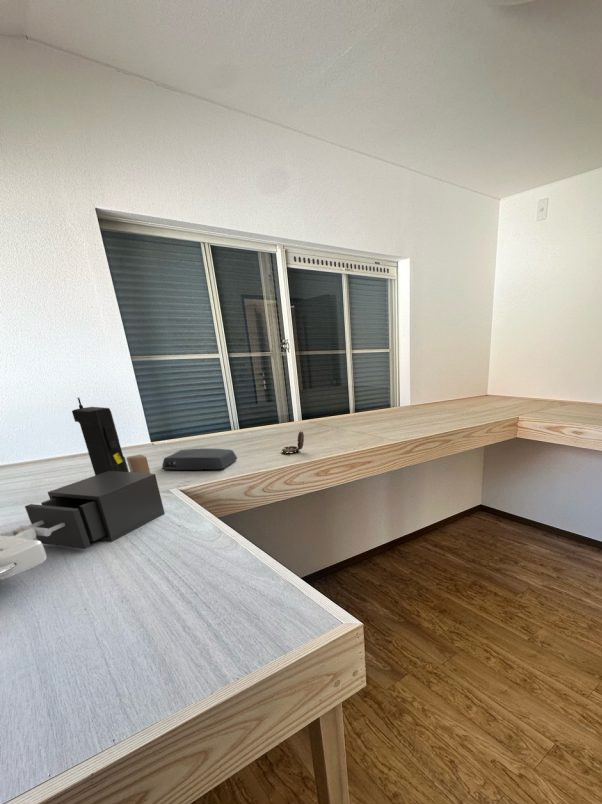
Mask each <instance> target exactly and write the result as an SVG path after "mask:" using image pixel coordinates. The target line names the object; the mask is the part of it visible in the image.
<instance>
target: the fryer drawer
mask: <svg viewBox="0 0 602 804" xmlns="http://www.w3.org/2000/svg"><path fill="white" fill-rule="evenodd" d="M24 508H25V511H26V514H27V516H28V519H29V521H30V524H29V525H20V526H18V528H28V529H34V530H35V533H36V535H37V536H36V540H39V541H41V543H42V545H51V546H59V547H66V548H75V549H80V550H82V549H83V550H86V549H89V548H91V542H96V541H99V540H98V539H99V538H101V537H103V536H105V535H107V532H106V528H105V525H104V522H103V519H102V515H101V512H100V509H99V506H98V503H97V500H90V499H79V498H68V497H55V498H53V499H50V498H49V499H48V500H44V501H42V502H41V504H34V503H29V504H27V505H25V506H24Z"/></svg>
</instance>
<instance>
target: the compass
mask: <svg viewBox="0 0 602 804" xmlns="http://www.w3.org/2000/svg"><path fill="white" fill-rule="evenodd" d="M304 441H305V434H304V432H303V430H298V435H297V446H295V445H290V446H284V447H283V448H282V449H281V452H282V451H283V452H288V453H290V452H295V451H299V450H302V449H303V447H304V444H305V443H304ZM283 452H282V453H283ZM299 452H300V451H299Z"/></svg>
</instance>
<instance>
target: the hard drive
mask: <svg viewBox="0 0 602 804" xmlns="http://www.w3.org/2000/svg"><path fill="white" fill-rule="evenodd" d="M236 459H237V460H238V456H237V454H236V453H235V451H234V450H232V449H229V448H207V447H205V448H188V449H180V450H178V451H176V452H174V453H172V454H170V455H168V456H166V457H164V458H163V461H162V466H161V467H162V468H161V469H162V470H170V471H171V470H172V471H173V470H174V471H179V470H180V471H196V470H197V471H198V470H199V471H205V470H206V471H207V469H208V470H209V469H210V470H224V469H225V468H227V467H228V466H230V465H231V464H232V463H234V462H235V461H236ZM229 464H230V465H229ZM226 466H227V467H226ZM223 468H224V469H223ZM203 469H205V470H203Z"/></svg>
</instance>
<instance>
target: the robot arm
mask: <svg viewBox="0 0 602 804" xmlns="http://www.w3.org/2000/svg"><path fill="white" fill-rule="evenodd" d="M36 536H37V535H36V533H35V530H34V529H28V528H19V527H16V528H15V529H12V530H7V531H1V532H0V580H5V579H8V578H11V577H13V576H16V575H18V574H21V573H23V572H26V571H28V570H30V569H32V568H35V567H36V566H37V567H38V566H40V565H41V564H43V563H44V562H46V560H47V558H48V556H47V552H46V549H45V547H44V544H42V543H41V541H39V540H37V537H36Z"/></svg>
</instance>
